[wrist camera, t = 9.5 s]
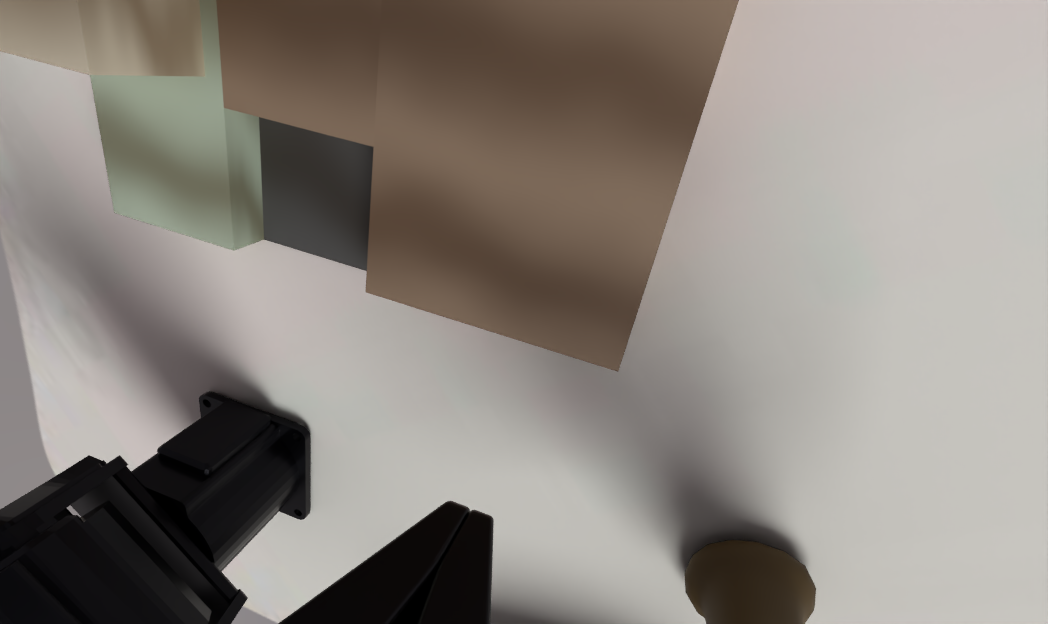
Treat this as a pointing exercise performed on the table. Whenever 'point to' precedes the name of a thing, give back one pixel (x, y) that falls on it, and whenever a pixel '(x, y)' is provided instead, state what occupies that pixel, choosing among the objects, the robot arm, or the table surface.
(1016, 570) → the table surface
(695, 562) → the kendama
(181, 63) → the birch block
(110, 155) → the trap deck
